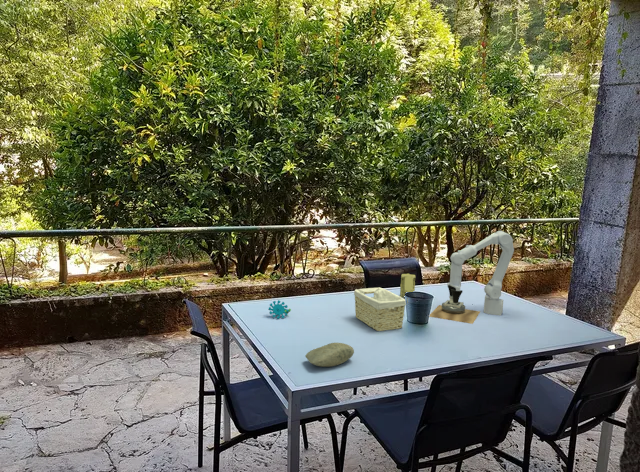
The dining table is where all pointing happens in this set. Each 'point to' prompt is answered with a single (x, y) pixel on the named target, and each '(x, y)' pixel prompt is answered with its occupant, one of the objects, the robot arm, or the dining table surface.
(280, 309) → the teal virus model
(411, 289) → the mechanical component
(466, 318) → the board
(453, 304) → the flanged cap
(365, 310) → the storage basket
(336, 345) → the rock
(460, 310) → the grey round socket base
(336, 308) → the dining table surface
